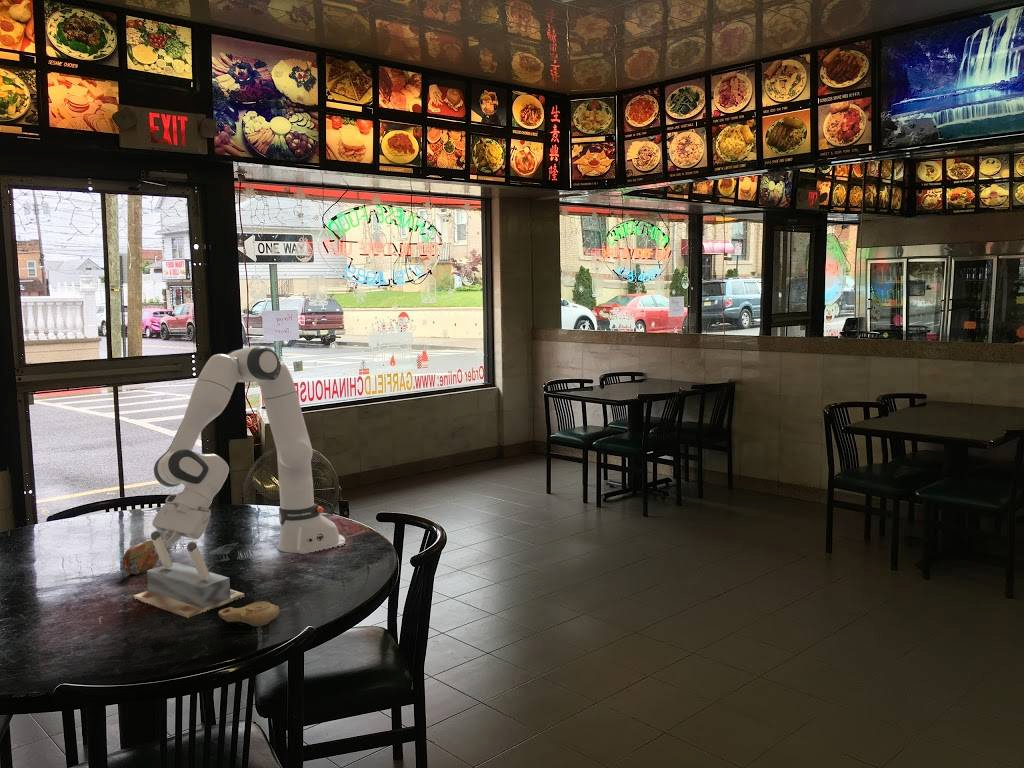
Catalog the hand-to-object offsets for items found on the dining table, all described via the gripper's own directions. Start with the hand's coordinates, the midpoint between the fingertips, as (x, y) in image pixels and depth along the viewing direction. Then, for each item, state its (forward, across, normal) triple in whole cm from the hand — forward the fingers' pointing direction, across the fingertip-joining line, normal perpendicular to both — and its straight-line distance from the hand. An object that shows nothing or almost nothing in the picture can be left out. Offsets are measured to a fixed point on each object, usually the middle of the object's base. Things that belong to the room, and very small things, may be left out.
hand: (164, 546), depth 239 cm
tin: (+5, +26, -15) cm, 31 cm away
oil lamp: (+12, -39, -9) cm, 42 cm away
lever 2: (+4, -18, -6) cm, 19 cm away
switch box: (+9, -8, -10) cm, 16 cm away
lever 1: (+4, 0, -6) cm, 7 cm away
